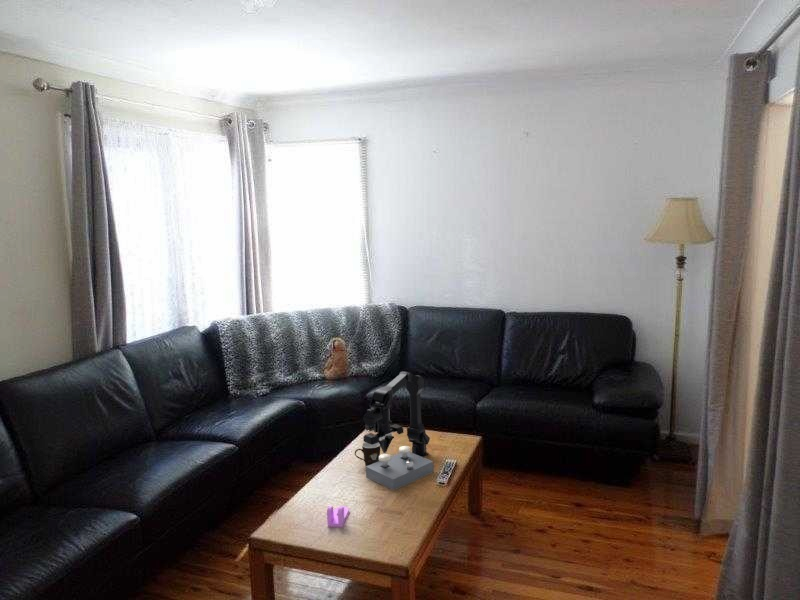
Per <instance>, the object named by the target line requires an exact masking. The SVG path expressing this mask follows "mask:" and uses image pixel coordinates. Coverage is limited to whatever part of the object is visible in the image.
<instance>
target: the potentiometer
mask: <svg viewBox="0 0 800 600" xmlns="http://www.w3.org/2000/svg"><path fill="white" fill-rule="evenodd" d="M406 469H407V470H412V469H413V461H411V460H410V458H409V461H406Z"/></svg>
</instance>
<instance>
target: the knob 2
mask: <svg viewBox="0 0 800 600" xmlns="http://www.w3.org/2000/svg"><path fill="white" fill-rule="evenodd" d="M409 452H411V447H410V446H408V445H403V446H402V445H401V446H399V447H398V453H402V458H407V457H408V454H407V453H409Z"/></svg>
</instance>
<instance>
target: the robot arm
mask: <svg viewBox="0 0 800 600" xmlns="http://www.w3.org/2000/svg"><path fill="white" fill-rule="evenodd" d="M424 379H425V378H424V377H423V376H422V375H416V374H413V373H411V372H409V371H400V372H399V374H398V375H397V376H396V377H395V378H393V379H392V380H391V381H390V382H389V383H388V384H386V385H385V386H381V387H379V388H378V389H375V391H374V392H373V394H372V397H371V400H370V403H369V405H368V407H369V408H368V409H366V412H365V413H364V414H363V417H362V418H363V422H364V424H365V425H364V427H365V430H366V431H369V433H367V434H364V435H363V443H364V442H366V443H369V444H371V445H373V444H376V443H378V442H379V444H380V450H381V451H382V453H383V454H387V451H388V449H389V446H390V445H391V443H392V441H393V439H395V436H393V433H396V434H398V435H401V434H404V427H403V426H401V425H399V424H397V423H394V424H392V423H393V421H392V420H391V419H390V417H391V416H390V415H391V414H390V408H391V407H392V406H393V404H392V403H391V402H392V401H393V399H394V395H395V394H396V393H397V392H398V391H399V390H400V389H401V388H403V386H404V385H405V389H406V390H407V392H408V394H409V404H410V405H409V406H410V407H409V409H410V423H409V426H408V427H406V436H407V438H408V442H409V443H412V444H411V445H412V446H411V453H414V454H416V455H419V456H421V457H425V456H428V455H430V453H429V452H427V445H429V443H430V437H429V435H428V434H427V433H426V432H427V431H426V428H425V426H424V424H423V423H422V403H421V400H422V399H421V393H422V391H423V390H424V387H425V385H424V384H425V380H424ZM372 432H374V433H376V434H374V433H372Z"/></svg>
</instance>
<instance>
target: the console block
mask: <svg viewBox="0 0 800 600" xmlns="http://www.w3.org/2000/svg"><path fill="white" fill-rule="evenodd" d="M407 454H408V457H407V458H402V453H400V452H398V453H394V454H392V455H390V456H391V460H390V461H388V466H387V467H383V466H382V462H381V461H378V462H376V463H373V464H371V465H368V466H365V478H367V479H369V480H371V481H373V482H375V483H378V484H379V485H381V486H384V487H385V488H388V489H389V490H391V491H393V492H394V491H396V490H398V489H400V488H402V487H404V486H407V485H409V484H411V483H414V482H415V481H417V480H420V479H421V478H425V476H428V475H430V474H432V473H434V461H433V460H431V459H428V458H426V457H425V456H423V457H421V456H419V455H416V454H414V453H412V451H410V452H409V453H407ZM409 458H410V460H411V461H413V469H412V470H407V469H406V461H409Z"/></svg>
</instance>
